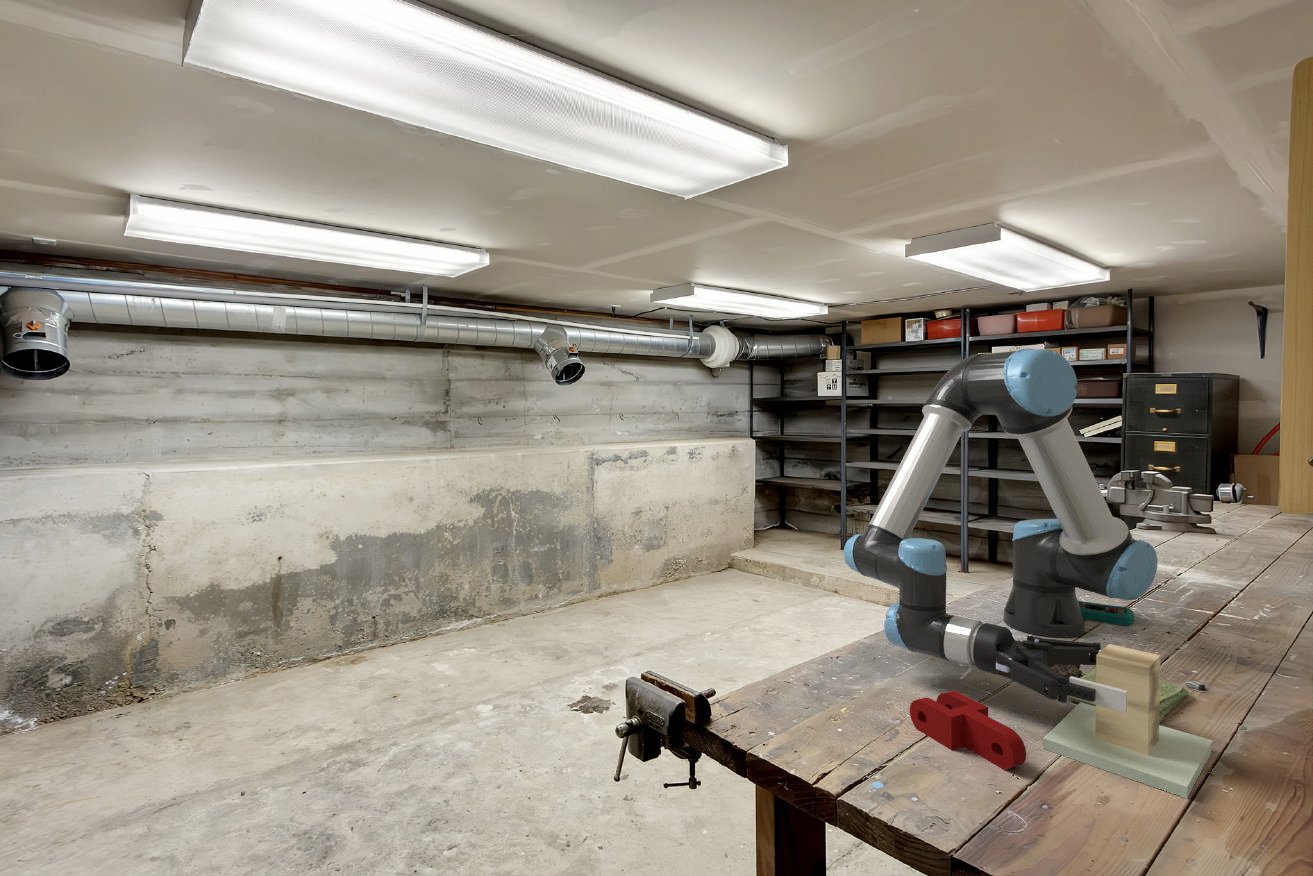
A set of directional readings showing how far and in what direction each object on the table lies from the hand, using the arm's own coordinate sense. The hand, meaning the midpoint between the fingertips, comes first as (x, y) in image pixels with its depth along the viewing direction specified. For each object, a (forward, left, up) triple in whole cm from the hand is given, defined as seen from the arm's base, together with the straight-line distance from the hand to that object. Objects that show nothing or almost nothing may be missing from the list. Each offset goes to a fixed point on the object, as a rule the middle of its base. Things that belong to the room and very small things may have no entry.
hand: (1140, 686), depth 90 cm
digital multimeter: (-60, -22, -10) cm, 65 cm away
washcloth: (-18, -6, -10) cm, 22 cm away
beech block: (0, -1, -8) cm, 8 cm away
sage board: (0, -1, -9) cm, 10 cm away
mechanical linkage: (+14, -17, -10) cm, 24 cm away
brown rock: (-18, -18, -10) cm, 27 cm away
